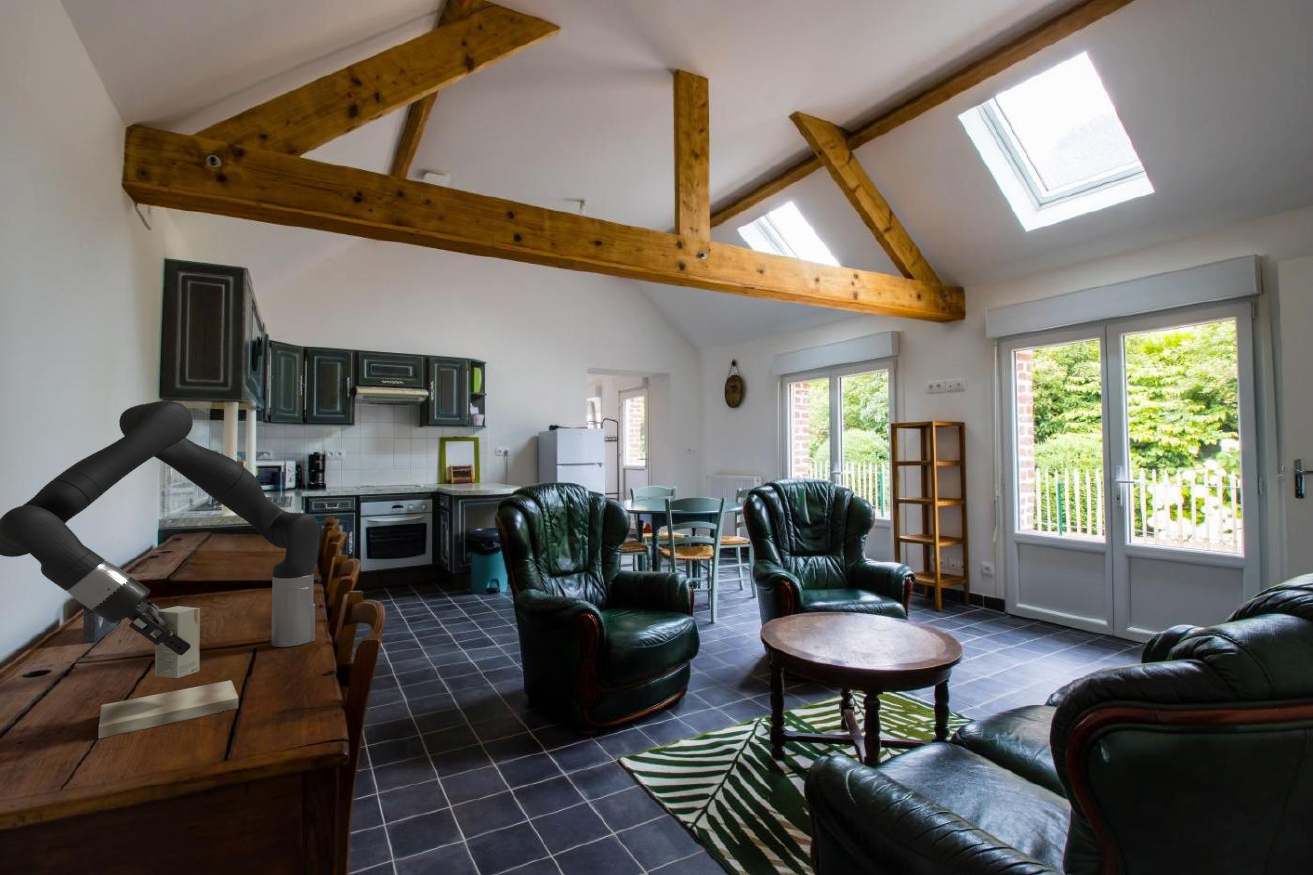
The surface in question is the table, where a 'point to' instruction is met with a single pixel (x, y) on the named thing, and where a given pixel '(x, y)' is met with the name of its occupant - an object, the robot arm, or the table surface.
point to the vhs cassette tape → (95, 626)
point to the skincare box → (188, 629)
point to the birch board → (166, 708)
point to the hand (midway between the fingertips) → (187, 645)
